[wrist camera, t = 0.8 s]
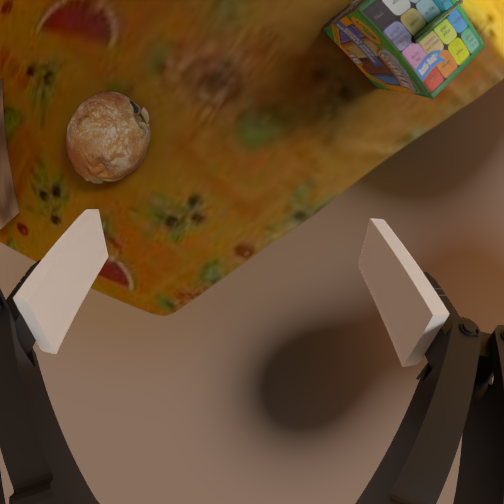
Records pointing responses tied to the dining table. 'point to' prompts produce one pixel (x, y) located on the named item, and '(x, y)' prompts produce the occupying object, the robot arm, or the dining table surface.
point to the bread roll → (107, 137)
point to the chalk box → (406, 42)
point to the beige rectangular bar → (5, 175)
